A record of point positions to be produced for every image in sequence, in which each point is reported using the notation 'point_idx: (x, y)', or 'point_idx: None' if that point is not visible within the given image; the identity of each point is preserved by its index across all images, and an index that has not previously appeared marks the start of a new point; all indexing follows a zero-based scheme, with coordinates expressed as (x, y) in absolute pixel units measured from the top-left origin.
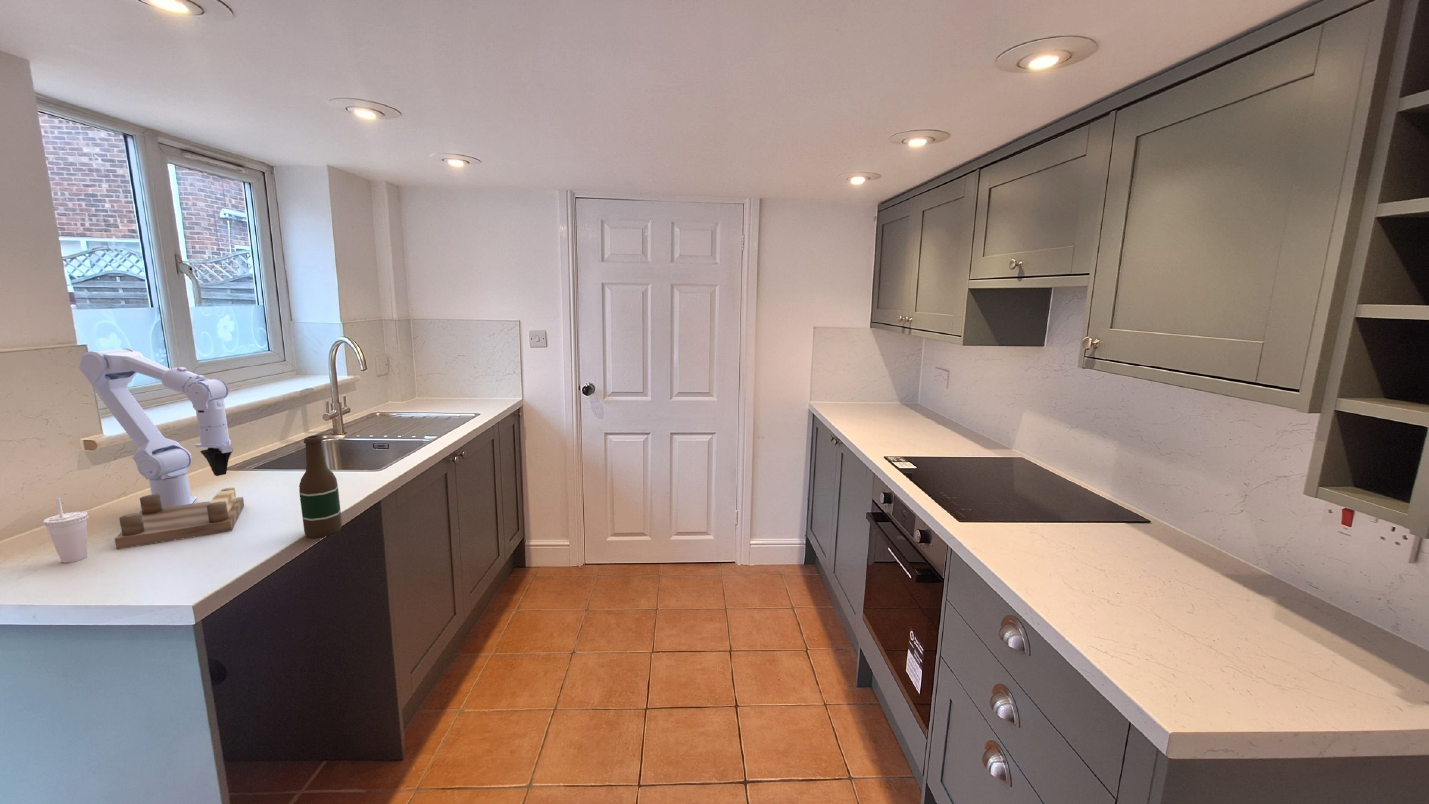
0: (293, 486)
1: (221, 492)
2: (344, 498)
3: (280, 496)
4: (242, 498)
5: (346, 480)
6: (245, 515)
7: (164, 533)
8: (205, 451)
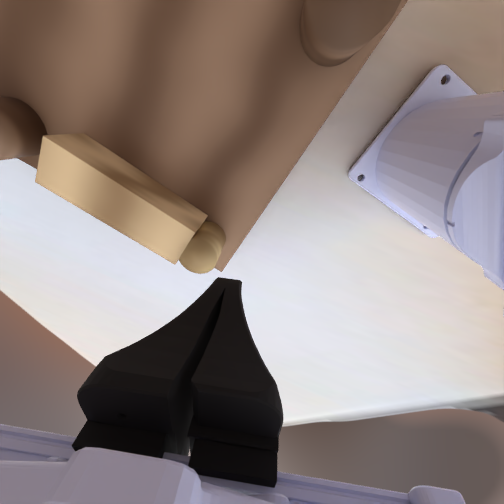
0: (275, 360)
1: (173, 229)
2: (105, 348)
3: None
4: None
5: None
6: None
7: None
8: (150, 400)
